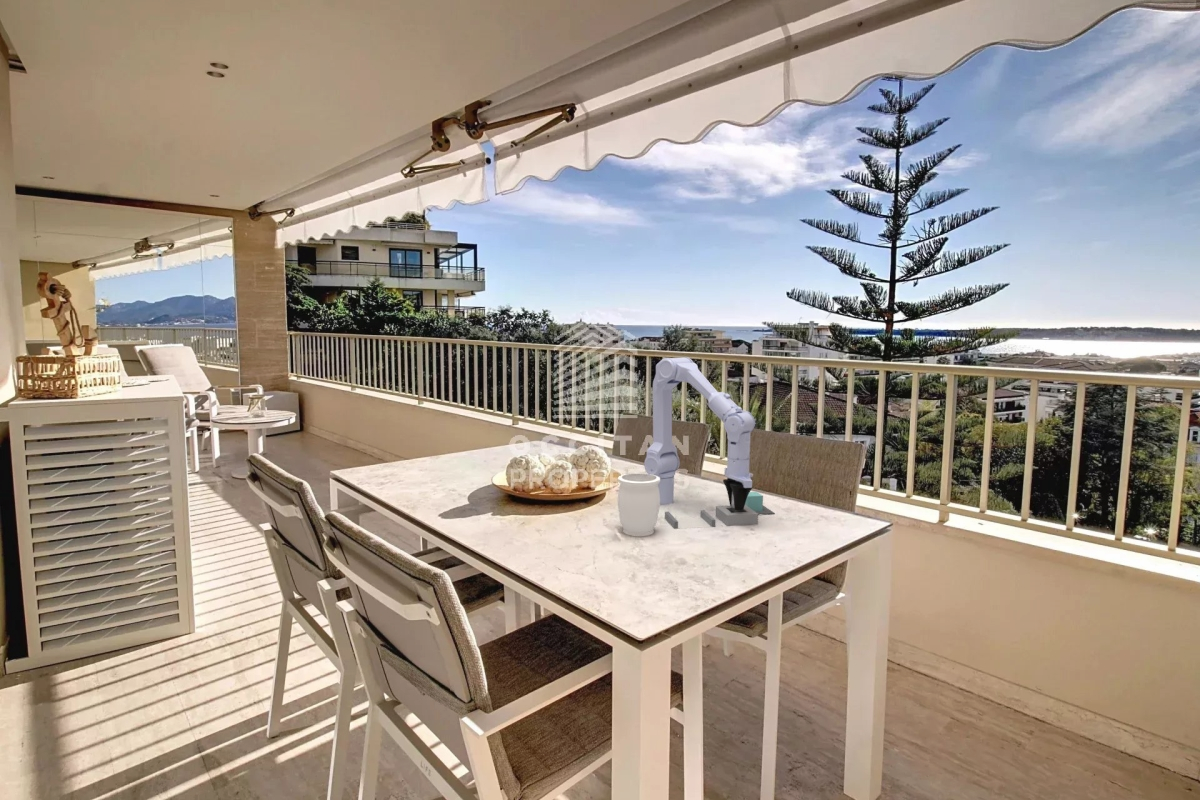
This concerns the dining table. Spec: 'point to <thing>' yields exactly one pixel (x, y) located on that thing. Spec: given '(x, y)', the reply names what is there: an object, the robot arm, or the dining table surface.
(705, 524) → the grey blocks
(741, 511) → the rod
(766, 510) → the pad
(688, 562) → the dining table surface
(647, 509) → the jar
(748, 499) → the block
